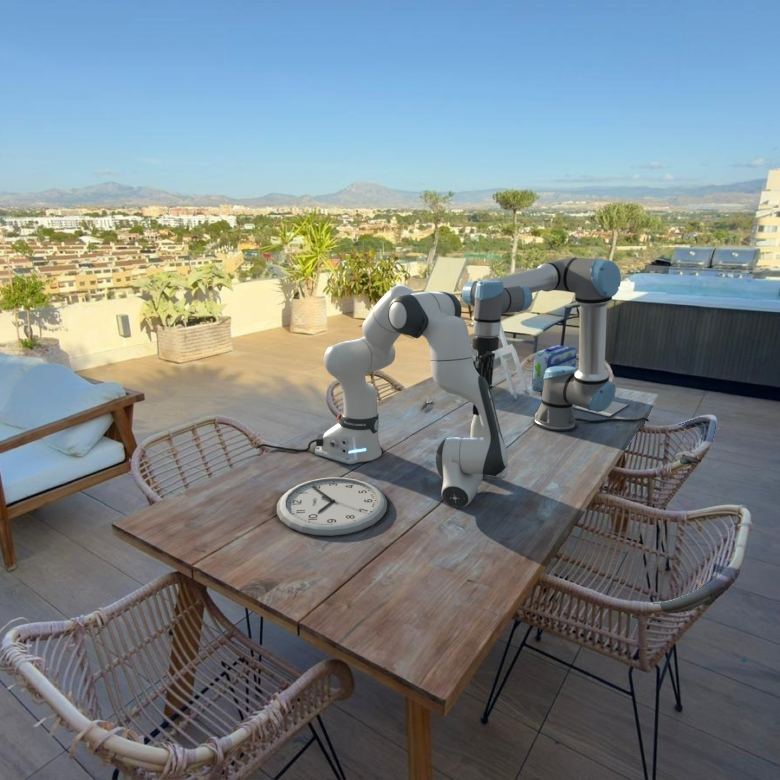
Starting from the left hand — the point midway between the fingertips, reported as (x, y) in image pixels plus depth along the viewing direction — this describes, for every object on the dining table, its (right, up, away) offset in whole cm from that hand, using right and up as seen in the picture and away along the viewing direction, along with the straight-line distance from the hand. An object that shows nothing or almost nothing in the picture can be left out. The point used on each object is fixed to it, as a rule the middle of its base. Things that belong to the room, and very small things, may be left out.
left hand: (477, 454), depth 162 cm
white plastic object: (+14, +19, +81) cm, 85 cm away
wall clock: (-43, -12, -19) cm, 48 cm away
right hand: (0, +13, -5) cm, 14 cm away
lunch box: (+50, +20, +86) cm, 101 cm away
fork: (-12, +13, +62) cm, 65 cm away
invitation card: (+64, +13, +64) cm, 92 cm away
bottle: (0, -6, +1) cm, 6 cm away
